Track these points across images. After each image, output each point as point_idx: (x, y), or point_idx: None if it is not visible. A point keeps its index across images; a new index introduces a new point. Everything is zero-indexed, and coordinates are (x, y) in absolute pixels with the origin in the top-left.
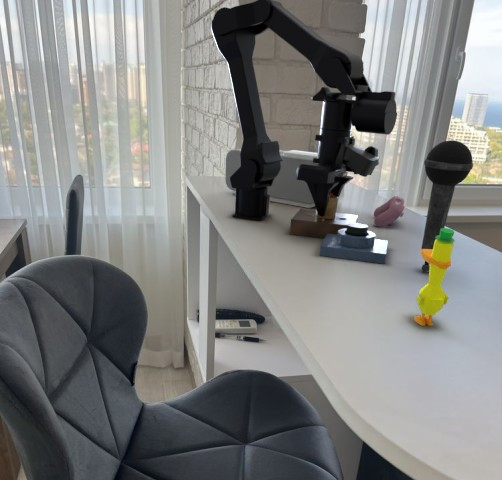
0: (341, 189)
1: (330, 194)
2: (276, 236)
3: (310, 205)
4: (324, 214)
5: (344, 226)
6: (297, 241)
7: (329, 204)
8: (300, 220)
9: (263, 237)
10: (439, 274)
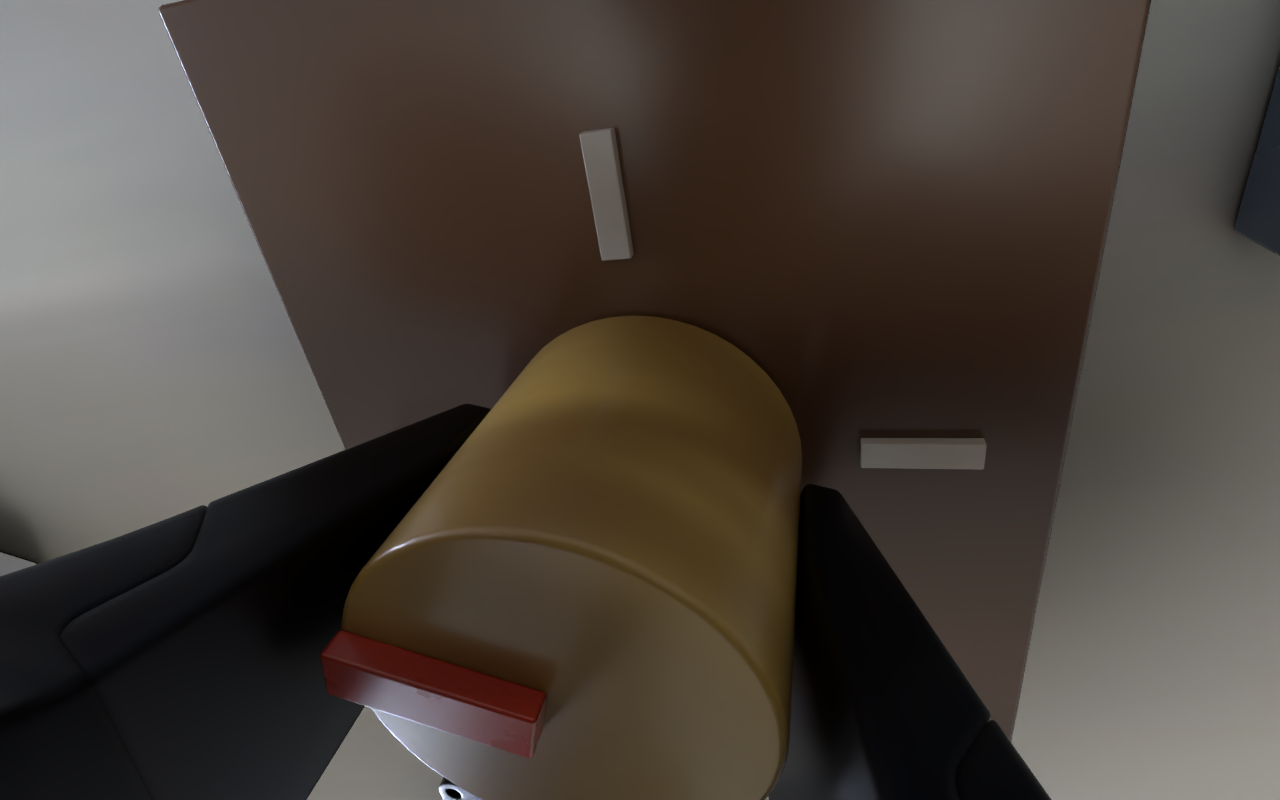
0: (47, 593)
1: (476, 705)
2: (1103, 700)
3: (6, 572)
4: (825, 496)
5: (1128, 34)
6: (1271, 534)
7: (772, 567)
8: (1020, 682)
9: (1184, 776)
10: None
